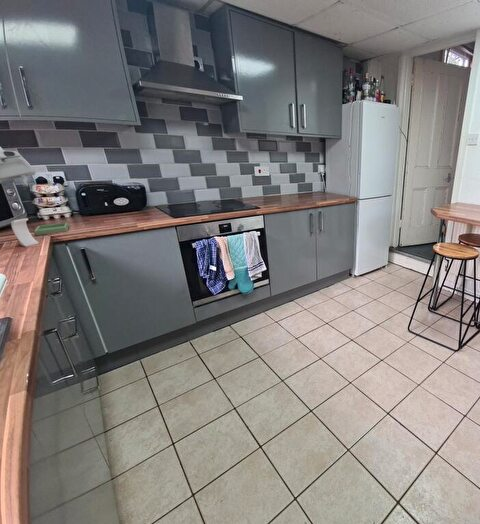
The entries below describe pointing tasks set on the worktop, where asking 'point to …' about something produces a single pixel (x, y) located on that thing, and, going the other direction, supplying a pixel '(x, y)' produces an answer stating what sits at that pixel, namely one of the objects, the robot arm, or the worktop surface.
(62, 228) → the tray
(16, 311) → the worktop surface
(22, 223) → the light grey curved piece
